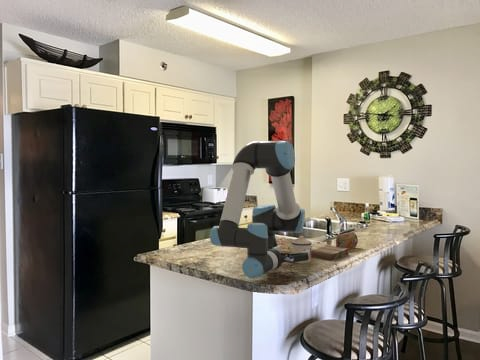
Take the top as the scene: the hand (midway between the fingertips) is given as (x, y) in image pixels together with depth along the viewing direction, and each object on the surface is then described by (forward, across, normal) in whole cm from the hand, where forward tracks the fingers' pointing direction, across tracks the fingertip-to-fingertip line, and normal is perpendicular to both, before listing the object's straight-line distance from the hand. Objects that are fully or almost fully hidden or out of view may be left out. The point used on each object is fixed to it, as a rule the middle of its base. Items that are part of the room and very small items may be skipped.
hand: (294, 250), depth 170 cm
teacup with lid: (+10, 0, -7) cm, 12 cm away
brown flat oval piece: (+45, +8, -7) cm, 46 cm away
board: (+26, +6, -6) cm, 27 cm away
